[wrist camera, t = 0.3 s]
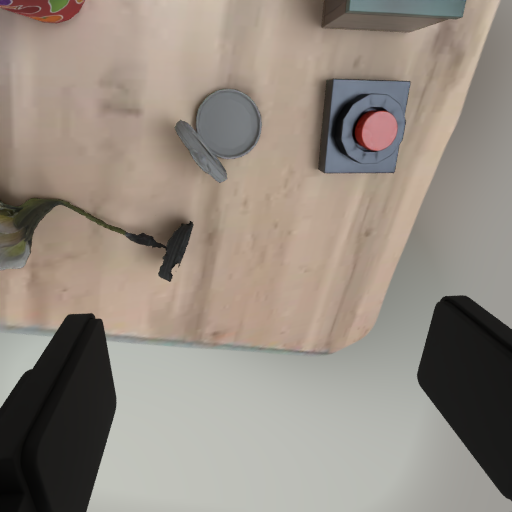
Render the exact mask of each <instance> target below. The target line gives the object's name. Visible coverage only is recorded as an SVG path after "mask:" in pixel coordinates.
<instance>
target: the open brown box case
mask: <svg viewBox="0 0 512 512" xmlns="http://www.w3.org/2000/svg"><path fill="white" fill-rule="evenodd" d="M346 2H347V0H324V3H323V16H322V28H330V29H350V30H370V31H390V32H412V31H415V30H418V29H421V28H424V27H427V26H430V25H433V24H436V23H439V22H442V21H445V20H448V19H442V18H424V17H406V16H388V15H370V14H353V13H345V12H346Z"/></svg>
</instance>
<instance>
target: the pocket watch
mask: <svg viewBox="0 0 512 512" xmlns="http://www.w3.org/2000/svg"><path fill="white" fill-rule="evenodd" d="M261 127H262V122H261V115H260V112H259V110H258V108H257V106H256V104H255V103H254V102H253V100H252V99H251V98H250V97H249V96H247V95H246V94H244V93H242V92H240V91H238V90H234V89H221V90H218V91H216V92H214V93H212V94H210V95H208V96H207V98H206V99H205V100H204V101H203V102H202V103H201V105H200V107H199V109H198V112H197V116H196V130H197V132H196V131H195V130H194V129H193V128H192V127H191V126H190V125H189V124H188V123H187V122H185V121H181V120H180V121H179V122H177V123H176V126H175V130H176V132H177V134H178V136H179V137H180V139H181V140H182V142H183V143H184V144H185V146H186V147H187V148H188V150H189V151H190V154H191V156H192V157H193V159H194V161H195V162H196V163H197V165H198V166H199V167H200V168H201V169H202V170H203V171H204V172H206V173H208V174H210V175H211V176H212V177H213V178H214V179H215V180H216V181H218V182H219V183H221V182H223V181H225V180H226V179H227V173H226V170H225V169H224V167H223V166H222V164H221V163H220V161H219V160H218V158H217V157H216V156H218V157H221V158H225V159H235V158H238V157H242V156H244V155H245V154H247V153H248V152H250V151H251V150H252V149H253V148H254V146H255V145H256V143H257V142H258V140H259V137H260V134H261Z"/></svg>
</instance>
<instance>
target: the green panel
mask: <svg viewBox="0 0 512 512" xmlns="http://www.w3.org/2000/svg"><path fill="white" fill-rule="evenodd" d="M465 3H466V0H347V2H346V12H345V13H353V14H370V15H388V16H406V17H424V18H442V19H459V18H462V17H463V13H464V8H465Z"/></svg>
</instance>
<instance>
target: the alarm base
mask: <svg viewBox="0 0 512 512" xmlns="http://www.w3.org/2000/svg"><path fill="white" fill-rule="evenodd" d="M409 88H410V81H387V80H355V79H330V80H326V90H325V101H324V112H323V123H322V134H321V145H320V157H319V168H318V170H320V171H322V172H323V173H394V172H395V167H396V162H397V156H398V150H399V145H400V143H401V141H402V139H403V135H404V129H405V124H406V120H405V117H404V116H405V111H406V105H407V99H408V94H409ZM372 110H379V111H387V112H389V113H391V114H392V115H393V116H394V117H395V119H396V121H397V125H398V131H397V135H396V137H395V139H394V141H393V142H392V144H391V145H390V146H388V147H387V148H385V149H383V150H380V151H373V150H370V149H366V148H363V147H362V146H360V145H359V144H358V142H357V140H356V138H355V127H356V124H357V122H358V120H359V119H360V117H361V116H362V115H364V114H365V113H367V112H369V111H372Z"/></svg>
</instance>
